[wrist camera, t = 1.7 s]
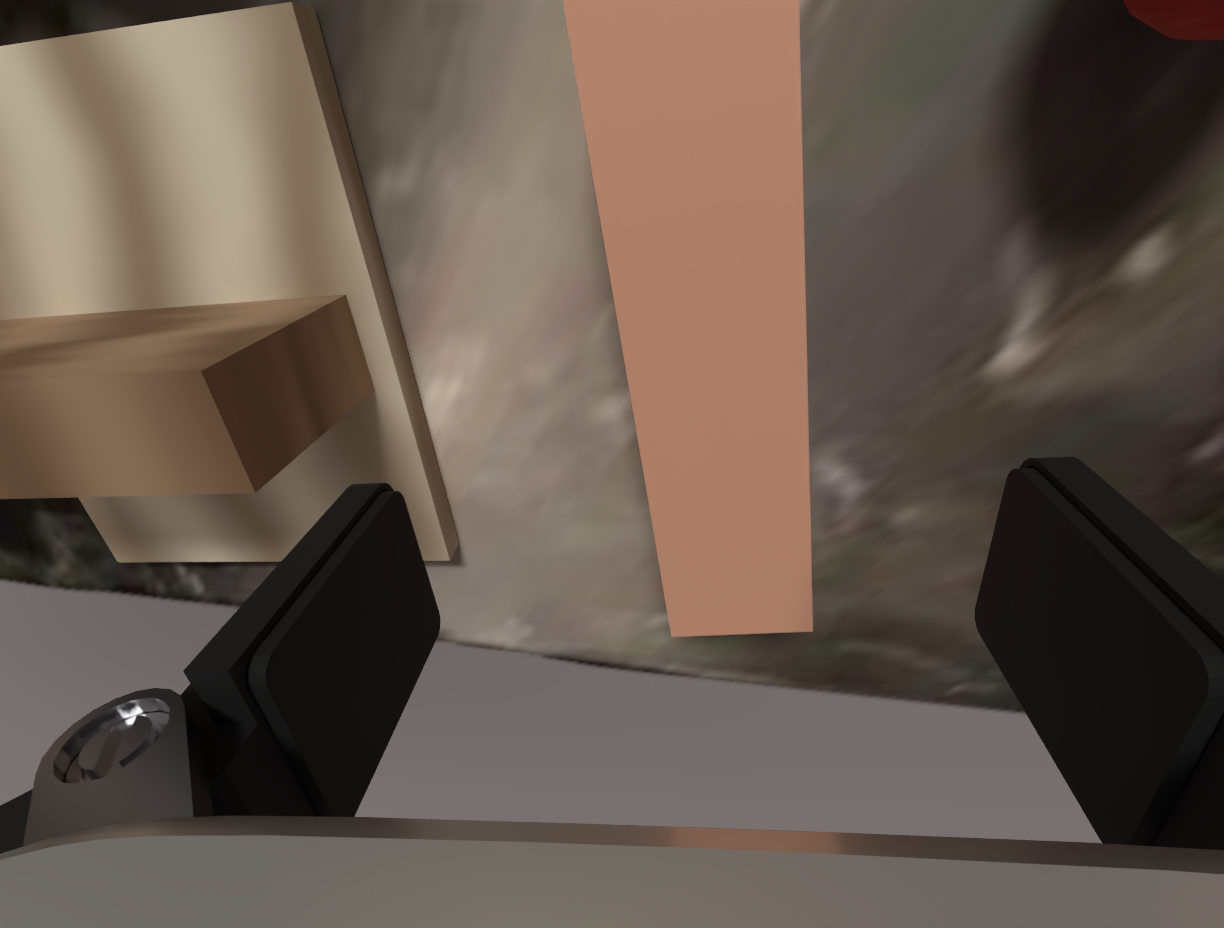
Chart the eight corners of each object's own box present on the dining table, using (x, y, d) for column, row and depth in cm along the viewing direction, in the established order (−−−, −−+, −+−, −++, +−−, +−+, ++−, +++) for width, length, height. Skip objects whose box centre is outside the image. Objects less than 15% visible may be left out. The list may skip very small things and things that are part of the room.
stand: (315, 8, 18) (61, -61, 11) (459, 543, 27) (375, 697, 20) (-137, 76, 20) (-590, 57, 13) (138, 546, 29) (-39, 684, 22)
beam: (764, -40, 16) (796, -110, 11) (788, 522, 25) (812, 631, 20) (597, 0, 17) (554, -48, 12) (676, 530, 26) (671, 637, 20)
